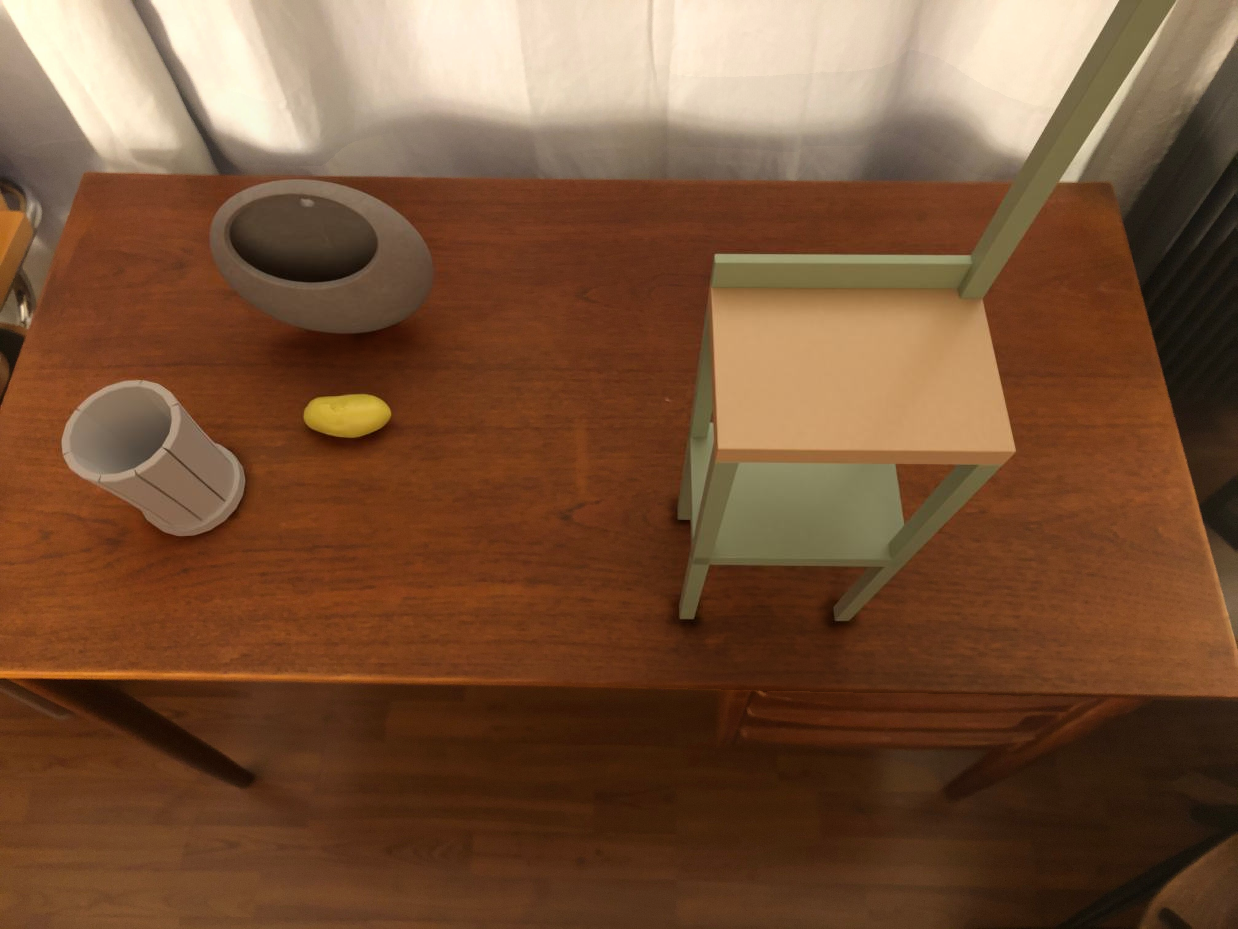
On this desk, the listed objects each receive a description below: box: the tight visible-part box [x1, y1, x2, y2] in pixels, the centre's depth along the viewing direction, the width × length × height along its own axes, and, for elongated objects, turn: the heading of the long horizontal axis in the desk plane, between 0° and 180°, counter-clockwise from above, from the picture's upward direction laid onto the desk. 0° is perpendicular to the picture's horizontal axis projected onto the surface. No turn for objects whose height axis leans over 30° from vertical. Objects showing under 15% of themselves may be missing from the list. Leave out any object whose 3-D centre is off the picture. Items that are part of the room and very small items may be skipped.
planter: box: [209, 178, 435, 334], centre depth 71 cm, size 18×7×19 cm, turn 94°
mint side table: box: [677, 0, 1177, 622], centre depth 43 cm, size 10×14×55 cm
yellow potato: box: [302, 393, 392, 439], centre depth 72 cm, size 4×8×4 cm, turn 87°
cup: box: [60, 379, 246, 537], centre depth 66 cm, size 10×9×12 cm
